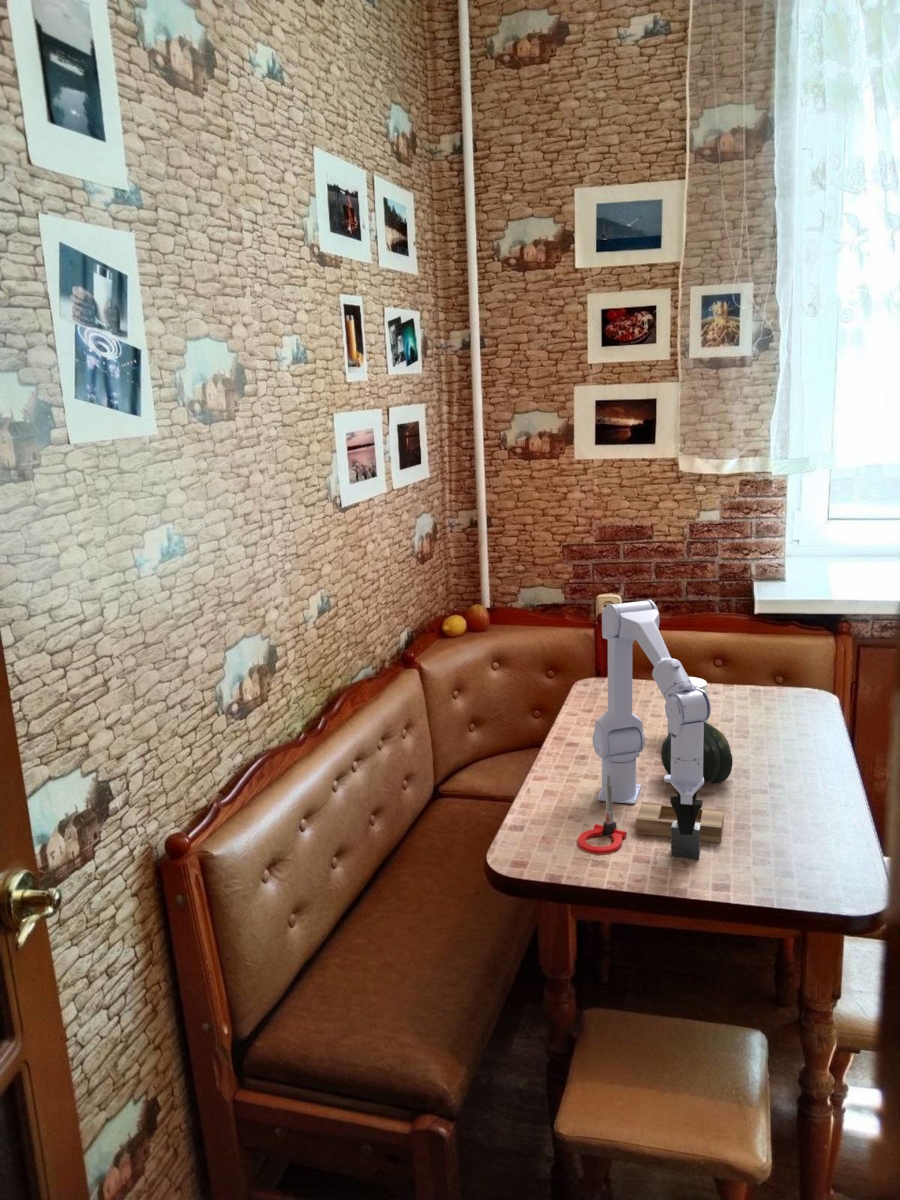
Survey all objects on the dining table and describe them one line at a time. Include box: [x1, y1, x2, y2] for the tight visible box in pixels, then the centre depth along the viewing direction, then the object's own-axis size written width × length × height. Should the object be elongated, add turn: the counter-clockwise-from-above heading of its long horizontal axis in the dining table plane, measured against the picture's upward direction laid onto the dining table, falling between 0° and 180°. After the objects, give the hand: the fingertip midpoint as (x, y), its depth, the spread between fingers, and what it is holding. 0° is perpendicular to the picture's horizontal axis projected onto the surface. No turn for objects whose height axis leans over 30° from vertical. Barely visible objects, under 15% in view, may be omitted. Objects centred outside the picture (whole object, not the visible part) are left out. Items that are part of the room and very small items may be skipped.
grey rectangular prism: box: [670, 820, 701, 861], centre depth 178 cm, size 3×5×6 cm, turn 71°
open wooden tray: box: [635, 801, 725, 843], centre depth 189 cm, size 8×16×3 cm, turn 71°
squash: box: [660, 721, 734, 785], centre depth 210 cm, size 14×15×15 cm
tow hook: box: [577, 774, 628, 855], centre depth 183 cm, size 8×13×9 cm
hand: (686, 824), depth 177 cm, fingers open, 7 cm apart
